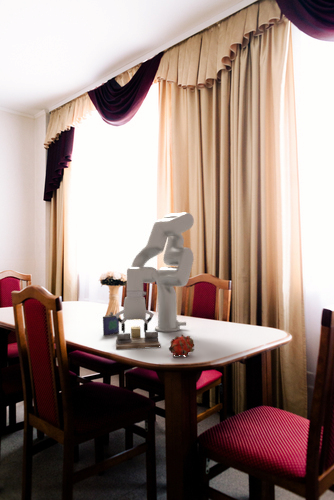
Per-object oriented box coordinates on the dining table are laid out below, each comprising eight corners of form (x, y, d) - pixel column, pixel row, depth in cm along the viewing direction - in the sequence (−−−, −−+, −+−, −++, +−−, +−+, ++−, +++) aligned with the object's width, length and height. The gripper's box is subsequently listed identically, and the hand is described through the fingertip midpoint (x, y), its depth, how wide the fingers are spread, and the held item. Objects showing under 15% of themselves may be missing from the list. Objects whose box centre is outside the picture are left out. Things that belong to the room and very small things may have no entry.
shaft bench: (156, 339, 168) (156, 328, 168) (160, 347, 154) (160, 335, 154) (115, 341, 166) (115, 330, 166) (116, 349, 152) (116, 336, 152)
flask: (116, 332, 186) (116, 310, 186) (120, 333, 184) (120, 311, 184) (101, 335, 179) (101, 312, 179) (105, 336, 177) (105, 313, 177)
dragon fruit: (195, 357, 145) (173, 368, 137) (181, 341, 149) (158, 351, 141) (203, 342, 140) (180, 352, 132) (188, 326, 145) (165, 336, 137)
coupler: (131, 337, 174) (130, 326, 174) (139, 337, 174) (139, 326, 174) (131, 339, 169) (131, 328, 169) (140, 339, 169) (140, 328, 169)
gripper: (152, 293, 176) (152, 330, 176) (115, 293, 174) (115, 331, 173) (154, 295, 169) (154, 333, 168) (115, 295, 167) (115, 334, 166)
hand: (134, 332), depth 171 cm, fingers open, 9 cm apart
